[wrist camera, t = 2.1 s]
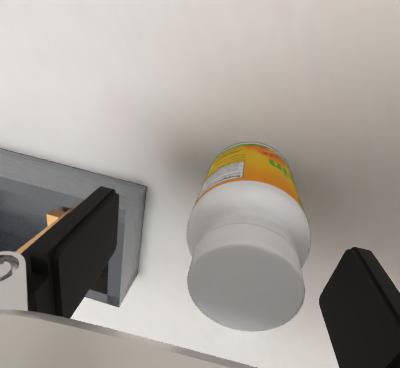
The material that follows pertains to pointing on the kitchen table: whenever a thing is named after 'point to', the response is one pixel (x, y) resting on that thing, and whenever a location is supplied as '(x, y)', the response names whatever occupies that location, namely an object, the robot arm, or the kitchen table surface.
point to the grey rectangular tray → (64, 200)
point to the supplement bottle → (248, 241)
